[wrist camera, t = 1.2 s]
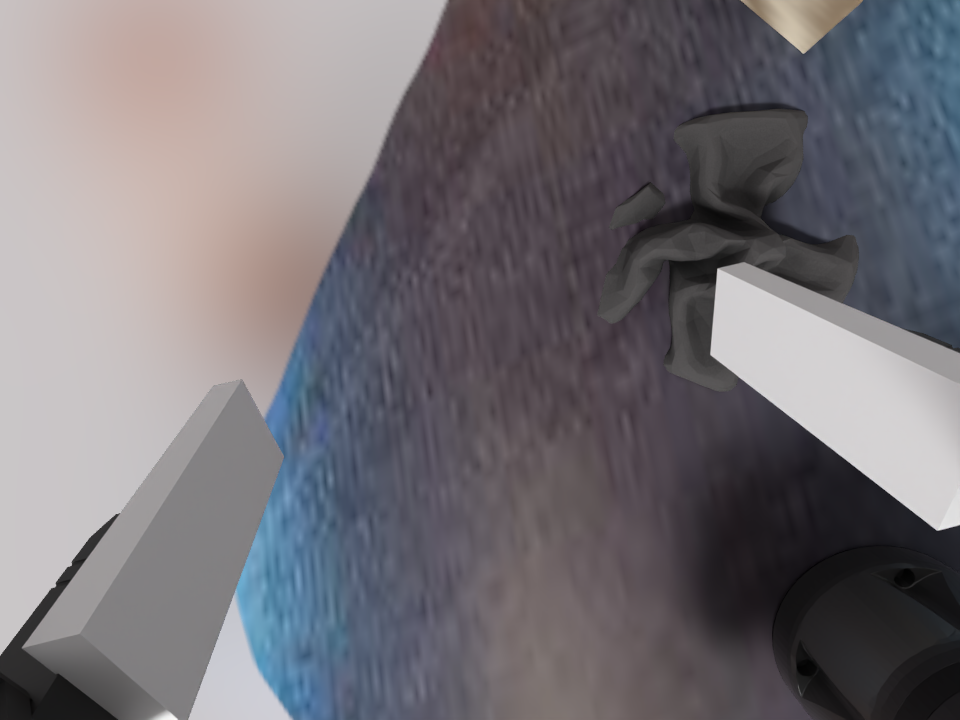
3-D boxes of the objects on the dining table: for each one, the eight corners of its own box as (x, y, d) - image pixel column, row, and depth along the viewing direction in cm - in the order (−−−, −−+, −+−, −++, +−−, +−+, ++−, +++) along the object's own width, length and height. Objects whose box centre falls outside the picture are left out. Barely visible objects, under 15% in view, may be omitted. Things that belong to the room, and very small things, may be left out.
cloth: (758, 58, 31) (818, -4, 25) (909, 270, 32) (1003, 260, 26) (505, 259, 34) (503, 247, 28) (650, 449, 35) (679, 479, 28)
